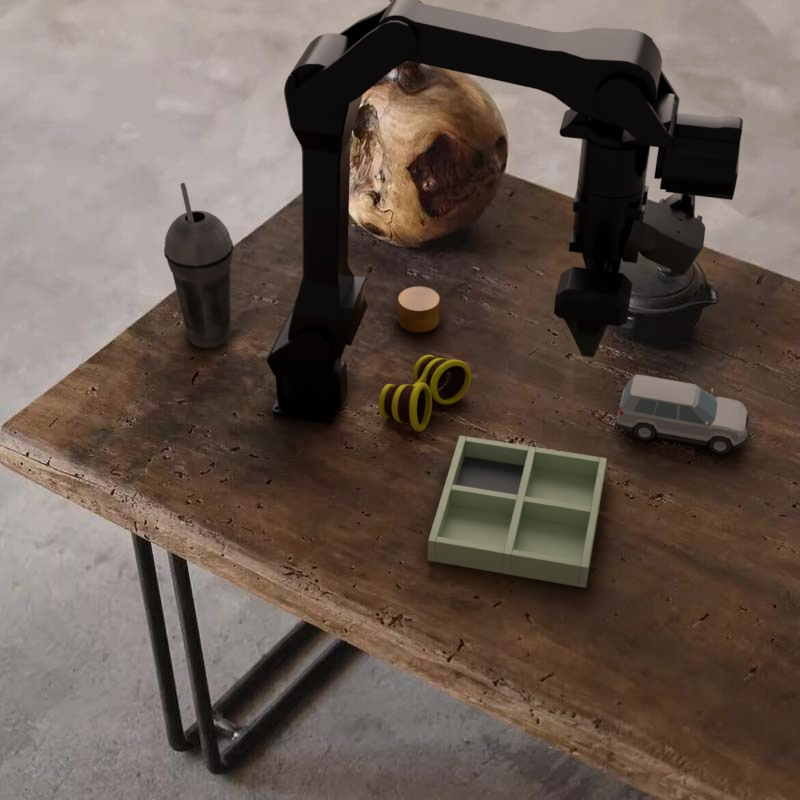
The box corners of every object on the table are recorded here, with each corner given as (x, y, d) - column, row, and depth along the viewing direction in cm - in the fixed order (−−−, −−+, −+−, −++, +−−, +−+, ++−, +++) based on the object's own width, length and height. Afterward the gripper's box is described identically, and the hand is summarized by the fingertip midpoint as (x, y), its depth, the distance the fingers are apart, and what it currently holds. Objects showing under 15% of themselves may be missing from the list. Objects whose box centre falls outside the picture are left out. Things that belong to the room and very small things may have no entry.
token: (394, 329, 147) (393, 307, 145) (403, 305, 150) (403, 283, 148) (434, 335, 146) (434, 313, 144) (443, 310, 149) (443, 289, 147)
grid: (427, 560, 120) (427, 540, 119) (458, 455, 131) (459, 435, 129) (585, 588, 118) (588, 567, 116) (604, 478, 129) (607, 458, 127)
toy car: (742, 460, 130) (751, 422, 127) (613, 437, 133) (618, 399, 130) (747, 423, 135) (755, 385, 131) (622, 401, 137) (627, 364, 134)
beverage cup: (255, 329, 147) (241, 172, 134) (214, 363, 142) (195, 205, 129) (204, 308, 150) (185, 153, 137) (162, 341, 145) (138, 184, 132)
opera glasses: (436, 381, 141) (429, 341, 138) (475, 393, 138) (469, 353, 135) (378, 428, 135) (370, 388, 133) (418, 442, 132) (410, 401, 130)
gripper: (699, 253, 105) (673, 402, 115) (712, 138, 118) (688, 280, 129) (560, 235, 107) (546, 383, 117) (589, 124, 120) (574, 265, 131)
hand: (594, 325), depth 123 cm, fingers open, 9 cm apart
